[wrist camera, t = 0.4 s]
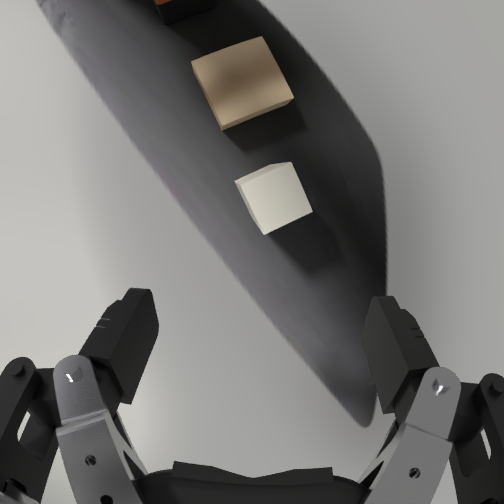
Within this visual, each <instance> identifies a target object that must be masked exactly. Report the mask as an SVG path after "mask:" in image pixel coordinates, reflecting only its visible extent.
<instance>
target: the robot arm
mask: <svg viewBox="0 0 504 504" xmlns="http://www.w3.org/2000/svg"><path fill="white" fill-rule="evenodd" d="M158 331H159V323H158V318H157V314H156V309H155V305H154V300H153V295H152V292H151V290H150V289H141V288H130V289H129V290H128V291H127V293H126V294H125V296H124V298H123V299H122V300H117V301H115V302H114V303H113V304H111V305H110V306H109V307H108V308H107V309H106V310H105V312H104V313H103V315H102V317H101V319H100V320H99V321H98V323H97V324H96V327H94V329H93V331H92V332H91V334H90V335H89V337H88V339H87V340H86V342H85V344H84V345H83V347H82V349H81V350H80V352H79V354H78V355H72V356H68V357H66V358H64V359H62V360H61V361H60V362H59V363H58V364H57V365H56V367H55V368H42V369H37V368H36V367H35V365H34V363H33V362H32V361H31V360H30V359H29V358H27V357H19V358H16V359H14V360H12V361H11V362H9V364H8V365H7V366H6V367H5V369H4V371H3V372H2V374H1V375H0V504H41V499H42V496H43V493H44V489H45V486H46V482H47V479H48V476H49V473H50V469H51V466H52V463H53V460H54V457H55V455H56V451H57V449H58V446H59V448H60V451H61V455H62V459H63V462H64V466H65V469H66V473H67V475H68V479H69V482H70V485H71V488H72V491H73V494H74V497H75V499H76V502H77V504H430V503H431V501H432V498H433V496H434V494H435V492H436V489H437V487H438V485H439V482H440V480H441V477H442V475H443V472H444V469H445V466H446V464H447V461H448V458H449V461H450V465H451V469H452V474H453V479H454V484H455V489H456V495H457V500H458V504H504V378H503V377H502V376H500V375H498V374H494V373H490V374H487V375H485V376H484V377H483V378H482V380H481V381H480V383H479V384H474V383H465V382H460V381H459V378H458V377H457V376H456V374H455V373H453V372H452V371H451V370H449V369H447V368H444V367H440V366H439V364H438V362H437V360H436V358H435V356H434V354H433V352H432V350H431V348H430V346H429V344H428V342H427V340H426V338H424V335H423V333H422V331H421V330H420V327H419V325H418V324H417V321H416V319H415V318H414V317H413V316H412V315H411V314H410V313H409V312H408V311H406V310H405V309H400V307H399V305H398V303H397V301H396V300H395V298H394V297H393V296H374V297H372V299H371V302H370V305H369V309H368V312H367V316H366V319H365V323H364V326H363V330H362V343H363V347H364V350H365V353H366V356H367V359H368V363H369V366H370V369H371V373H372V376H373V379H374V383H375V386H376V390H377V393H378V397H379V400H380V404H381V407H382V412H383V414H388V413H395V417H396V419H395V420H394V422H393V424H392V426H391V428H390V429H389V431H388V433H387V435H386V437H385V439H384V441H383V443H382V445H381V446H380V448H379V450H378V452H377V453H376V455H375V457H374V459H373V460H372V462H371V463H370V465H369V466H368V468H367V469H366V470H365V472H364V473H363V474H362V476H361V477H360V479H359V480H358V481H357V482H355V481H353V480H350V479H347V478H344V477H340V476H334V475H333V472H332V467H327V468H313V469H293V470H289V471H285V472H281V473H276V474H272V475H267V476H262V477H257V478H250V477H245V476H242V475H238V474H235V473H232V472H228V471H225V470H222V469H219V468H216V467H213V466H205V465H197V464H189V463H184V462H177V461H174V464H173V468H172V469H167V470H162V471H156V472H153V473H150V474H148V472H147V470H146V468H145V467H144V465H143V463H142V462H141V460H140V459H139V457H138V455H137V453H136V452H135V450H134V447H133V445H132V443H131V441H130V438H129V436H128V434H127V432H126V429H125V427H124V425H123V422H122V420H121V417H120V415H119V413H118V411H117V409H118V406H119V404H120V402H121V403H125V404H130V405H131V403H132V400H133V398H134V395H135V392H136V390H137V387H138V385H139V382H140V379H141V377H142V374H143V372H144V369H145V367H146V364H147V361H148V358H149V356H150V354H151V351H152V349H153V346H154V344H155V341H156V339H157V336H158ZM27 411H28V412H29V413H30V417H29V420H28V422H27V424H26V426H25V429H24V431H23V433H22V436H21V438H20V440H19V441H18V438H17V433H18V429H19V427H20V425H21V422H22V420H23V418H24V416H25V414H26V412H27ZM483 429H484V430H485V432H486V436H487V438H488V442H489V445H490V448H491V456H490V459H489V458H488V455H487V451H486V448H485V445H484V442H483V439H482V435H481V431H482V430H483Z"/></svg>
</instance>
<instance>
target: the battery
mask: <svg viewBox="0 0 504 504" xmlns="http://www.w3.org/2000/svg"><path fill="white" fill-rule="evenodd" d="M153 2H154V4H155V7H156V9H157V11H158V13H159V15H160V16H161V18H162V20H163V22H164V24H165V25H169V24H171V23H174V22H176V21H179V20H181V19H184V18H186V17H189V16H191V15H194V14H197V13H199V12H202V11H205V10H208V9H211V8H213V7H215V6H216V2H217V0H153Z"/></svg>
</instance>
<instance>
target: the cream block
mask: <svg viewBox="0 0 504 504" xmlns="http://www.w3.org/2000/svg"><path fill="white" fill-rule="evenodd" d="M235 183H236V185H237V187H238V190H239V192H240V194H241V196H242V198H243V200H244V202H245V204H246V206H247V208H248V210H249V213H250V215H251V217H252V218H253V220H254V221H255V223H256V224H257V226H258V227H259V228H260V230H261V231H262V233H263V234H264V235H265V234H267V233H269V232H271V231H273V230H275V229H277V228H280V227H282V226H284V225H286V224H288V223H290V222H292V221H294V220H296V219H298V218H301V217H303V216H305V215H307V214H309V213H311V212H313V211H312V209H311V206H310V204H309V202H308V199H307V197H306V195H305V192H304V190H303V188H302V185H301V183H300V181H299V178H298V176H297V174H296V172H295V169H294V167H293V165H292V163H291V162H285V163H278V164H270V165H268V166H266V167H264V168H262V169H259V170H257V171H255V172H253V173H251V174H249V175H246V176H244V177H242V178H240V179H238V180H236V181H235Z"/></svg>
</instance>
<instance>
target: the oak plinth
mask: <svg viewBox="0 0 504 504" xmlns="http://www.w3.org/2000/svg"><path fill="white" fill-rule="evenodd" d="M191 63H192V67H193V71H194V74H195V76H196V78H197V80H198V82H199V84H200V86H201V88H202V90H203V92H204V94H205V96H206V99H207V101H208V103H209V105H210V107H211V109H212V111H213V113H214V115H215V117H216V119H217V122H218V124H219V126H220V128H221V130H222V131H223V130H225V129H227V128H230V127H232V126H234V125H237V124H239V123H241V122H244V121H246V120H249V119H251V118H254V117H256V116H259V115H261V114H264V113H266V112H269V111H271V110H274V109H277V108H279V107H282V106H285V105H287V104H288V103H289V102H290V101H291V100H292V99H293V98H294V96H293V94H292V92H291V90H290V88H289V86H288V84H287V82H286V80H285V78H284V76H283V74H282V72H281V70H280V68H279V66H278V65H277V63H276V61H275V59H274V57H273V55H272V53H271V51H270V50H269V48H268V46H267V44H266V42H265V41H264V39H263V37H262V36H261V37H257V38H254V39H251V40H248V41H245V42H242V43H239V44H236V45H233V46H230V47H227V48H224V49H222V50H219V51H216V52H214V53H211V54H208V55H206V56H203V57H201V58H199V59H196V60H194V61H191Z"/></svg>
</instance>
